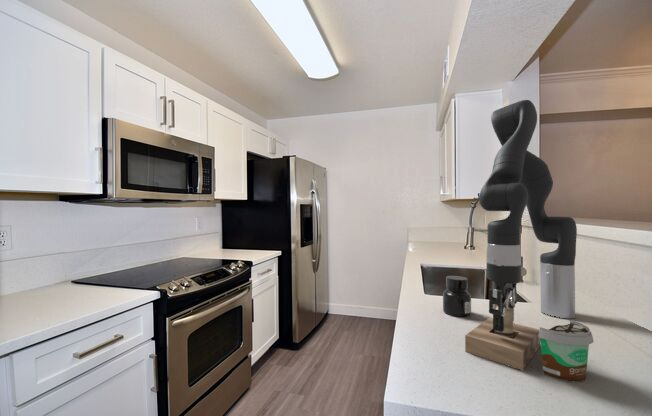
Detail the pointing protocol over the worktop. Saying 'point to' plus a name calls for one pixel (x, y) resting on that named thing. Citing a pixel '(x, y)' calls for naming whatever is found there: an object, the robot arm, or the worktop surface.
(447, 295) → the ink bottle
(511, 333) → the peg
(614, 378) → the worktop surface
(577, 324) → the food container
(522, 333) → the board
